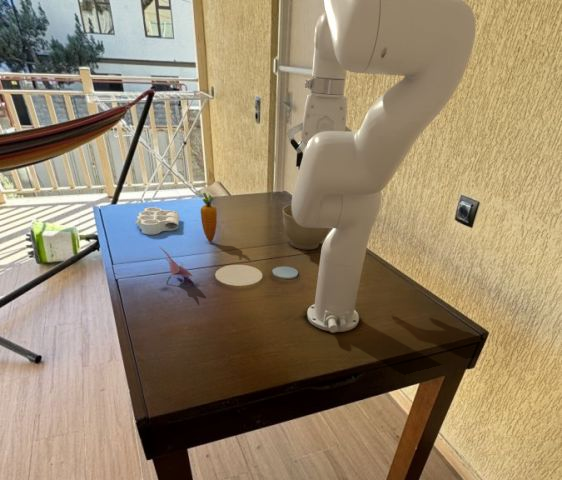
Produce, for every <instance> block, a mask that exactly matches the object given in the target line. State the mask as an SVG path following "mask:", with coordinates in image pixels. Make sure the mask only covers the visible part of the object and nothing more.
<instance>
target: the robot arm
mask: <svg viewBox="0 0 562 480" xmlns="http://www.w3.org/2000/svg"><path fill="white" fill-rule="evenodd" d="M323 2H324V3H323V5H324V12H323V13H322V14H320V16H319V17H318V18H317V21H316V23H315V27H314V35H313V39H314V40H313V44H314V50H313V61H312V73H311V78H310V79H308V80H306V79H305V80H304V88H306V89H309V91H310V93H307V95H306V96H307V97H306V100H305V105H304V111H303V117H302V122H301V123H299V124H297V125H295V126H293V127H291V128H289V129H288V130H287V131H286V134H287V137H288V140H289V142H290V145H291V146H292V147H293V149H294V150H295V151H296V158H295V159H296V160H295V167H297V168H298V173H297V176H296V180H295V184H294V187H293V191H292V196H291V204H292V215H293V218H294V220H295V222H296V223H297V224H298V225H300V226H302V227H306V228H330V229H331V230H330V231H329V232H328V233H327V235H326V236H325V238H324V239H323V240H324V241H323V242H322V246H321V249H320V257H319V265H318V274H317V281H316V289H315V298H314V303H313V304H312V305H310V306H309V307H308V309H307V311H306V313H307V315H306V319H307V321H308V322H309V323H310V324H311V325H313V326H314V327H316V328H318V329H320V330H323V331H326V332H330V333H332V334H335V333H341V332H342V333H343V332H347V331H348V332H349V331H350V330H352V329H355V328H356V327H357V325H358V324H359V321H360V315H359V313H358V312H357V310H356V303H357V298H358V294H359V293H358V292H359V289H360V284H361V283H360V282H361V278H362V274H363V268H364V263H365V259H366V253H367V248H368V244H369V241H370V237H371V233H372V231H373V228H374V225H375V223H376V219H377V217H378V215H379V212H380V208H381V204H382V191H383V190H384V189H385V188H386V187H387V185H388V184H390V182H391V180H392V179H393V178H394V176H395V174H396V173H397V171H398V170H399V168H400V166H401V165H402V163H403V161H404V160H405V159H406V157H407V155H408V154H409V152H410V150H411V148H412V147H413V145H414V144H415V143H416V141H417V140H418V138H419V137H420V136H421V135H422V133H423V132H424V131H425V130H426V128H427V127H428V126H429V125H430V124H431V123H432V122H433V121H434V120H435V119H436V117H437V116H438V115H439V114H440V113H441V111H442V110H443V109H444V108H445V107H446V105H447V104H448V103H449V101H450V99H451V98H452V97H453V95H454V93H455V92H456V90H457V89H458V87H459V85H460V83H461V82H462V79H463V77H464V74H465V72H466V70H467V67H468V64H469V62H470V58H471V55H472V53H473V48H474V43H475V39H476V29H477V28H476V26H477V25H476V18H475V14H474V12H473V9H472V8H471V6H470V5H469V4H468V3H467V2H465V0H323ZM347 71H348V72H351V73H356V74H368V75H369V74H371V75H382V76H383V75H384V76H402V77H403V76H404V77H403V78H402V79H401V80H400V81H398V82H397V83H395V84H394V85H392V86H391V87H390V88H388V89H386V91H385V92H383V93H382V94H381V95H380V96H379V97H378V98H377V99H376V100H375V101H374V102H373V104H372V105H371V106H370V107H369V109H368V111H367V112H366V115H365V116H364V118H363V120H362V124H361V126H360V127H359V128H358V129H357V130H352V129H350V128H349V127H347V125H346V124H347V112H348V111H347V110H348V101H347V100H348V99H347V96H344V93H345V85H346V78H347ZM300 132H301V141H299V143H298V142H297V141H296V138H295V134H298V133H300ZM303 151H304V152H303Z"/></svg>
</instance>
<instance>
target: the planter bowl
mask: <svg viewBox="0 0 562 480" xmlns="http://www.w3.org/2000/svg"><path fill="white" fill-rule="evenodd" d="M282 222H283V228H284V231H285V233H286V235H287V238H288V239H289V241H290V242H289V243H290V245H291V246H292V247H294V248H296V249H298V250H299V249H300V250H306V251H307V250H308V251H309V250H315V249H317V248H319V246H320V243H322V241H323V240H325V238H326V237H327V235H328V234H329V232H330V231H329V230H330V229H331V228H306V227H302V226H300V225H298V224H297V223H296V222H295V220H294V218H293V215H292V203H290V204H287V205H285V206H284V207H282Z"/></svg>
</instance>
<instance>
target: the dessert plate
mask: <svg viewBox="0 0 562 480" xmlns="http://www.w3.org/2000/svg"><path fill="white" fill-rule="evenodd" d="M214 276H215V279H216V280H217V281H219V282H220V283H222V284H225V285H228V286H235V287H238V286H239V287H244V286H250V285H254V284H256V283H259V282H260V281H261V280H262V279H263V272H262V271H261V270H259V269H258V268H257V267H254V266H251V265H247V264H229V265H225V266H222V267H220V268H219V269H217V270H216V272H215V273H214Z"/></svg>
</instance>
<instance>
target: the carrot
mask: <svg viewBox="0 0 562 480" xmlns="http://www.w3.org/2000/svg"><path fill="white" fill-rule="evenodd" d="M202 195H203V197H204V198H202V201H203V203H204V204H205V205H202V207H201V208H200V218H201V225H202V229H203V233H204V235H205V237H206V239H207V241H208V242H209V243H212V242H213V241H214V238H215V235H216V230H217V222H218V221H217V217H218V215H217V214H218V213H217V212H218V211H217V208H216V206H214V205H212V201H213V200H214V197H213V196H212V195H211V194H208V195H207V193H206V192H203V193H202Z"/></svg>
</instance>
